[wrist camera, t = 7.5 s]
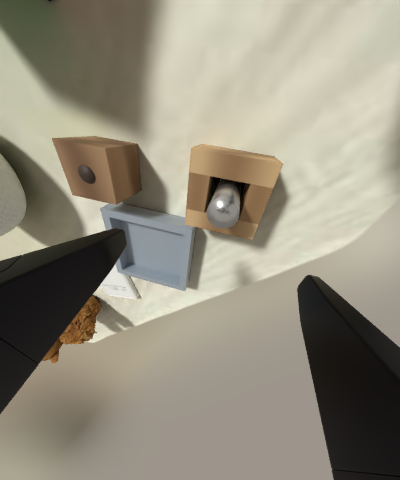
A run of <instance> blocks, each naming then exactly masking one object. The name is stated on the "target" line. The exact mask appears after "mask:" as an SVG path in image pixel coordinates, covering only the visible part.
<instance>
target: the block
mask: <svg viewBox="0 0 400 480" xmlns="http://www.w3.org/2000/svg"><path fill="white" fill-rule="evenodd" d="M52 140H53V143H54V146H55V148H56V151H57V154H58V156H59V159H60V162H61V165H62V167H63V170H64V173H65V176H66V178H67V181H68V184H69V186H70V189H71V192H72V195H75V196H80V197H84V198H88V199H93V200H97V201H101V202H106V203H110V204H115V205H117V204H119V203H121V202H122V201H124V200H126V199H127V198H129V197H131V196H132V195H134V194H136V193H137V192H139V191H141V190H142V188H141V177H140V167H139V156H138V146H137V144H135V143H130V142H124V141H118V140H113V139H107V138H102V137H96V136H90V137H67V138H52Z"/></svg>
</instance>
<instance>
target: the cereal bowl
mask: <svg viewBox="0 0 400 480" xmlns="http://www.w3.org/2000/svg"><path fill="white" fill-rule="evenodd" d="M26 205H27V204H26V199H25V194H24V190H23V188H22V185H21V183H20V181H19V179H18V177H17V175H16V173H15V171H14V170H13V168H12V167H11V165H10V164H9V163H8V161H7V160H6V159H5V158H4V157H3V156H2V155H1V154H0V236H2V235H4V234H5V233H8V232H9V231H11V230H12V229H14V228H15V227H16V226H18V225H19V224H20V222H21V221H22V220H23V217H24V216H25V213H26Z"/></svg>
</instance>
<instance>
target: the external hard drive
mask: <svg viewBox="0 0 400 480" xmlns="http://www.w3.org/2000/svg"><path fill="white" fill-rule="evenodd" d="M100 286H101V287H102V289H103V290H104V291H105V293H106V294H107V295H108V296H115V297H122V298H129V299H138V297H139V294H138V292H137V290H136V288H135V287H134V285H133V283H132V281H131V279H130V277H129V276H128V275H125V274H121V273H118V271H117V268H116V264H115V265H114V267H113V268H112V270H111V271H110V273H109V274H108V275H107V277H106V278H105V279H104V281H103V282H102V283H101V284H100Z"/></svg>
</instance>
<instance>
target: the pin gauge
mask: <svg viewBox="0 0 400 480" xmlns="http://www.w3.org/2000/svg"><path fill="white" fill-rule="evenodd" d="M240 189H241V184H240V182H238V181H233V180H228V179H223V178H222V179H221V180H220V182H219V184H218V186H217V188H216V191H215V193H214V195H213V197H212V199H211V202H210V204H209V206H208V208H207V218H208V220H209V222H210V223H211V224H212V225H213V226H215V227H217V228H221V229H225V228H229V227H232V226H233V225H235V224H236V222H237V221H238V219H239V211H240Z"/></svg>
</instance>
